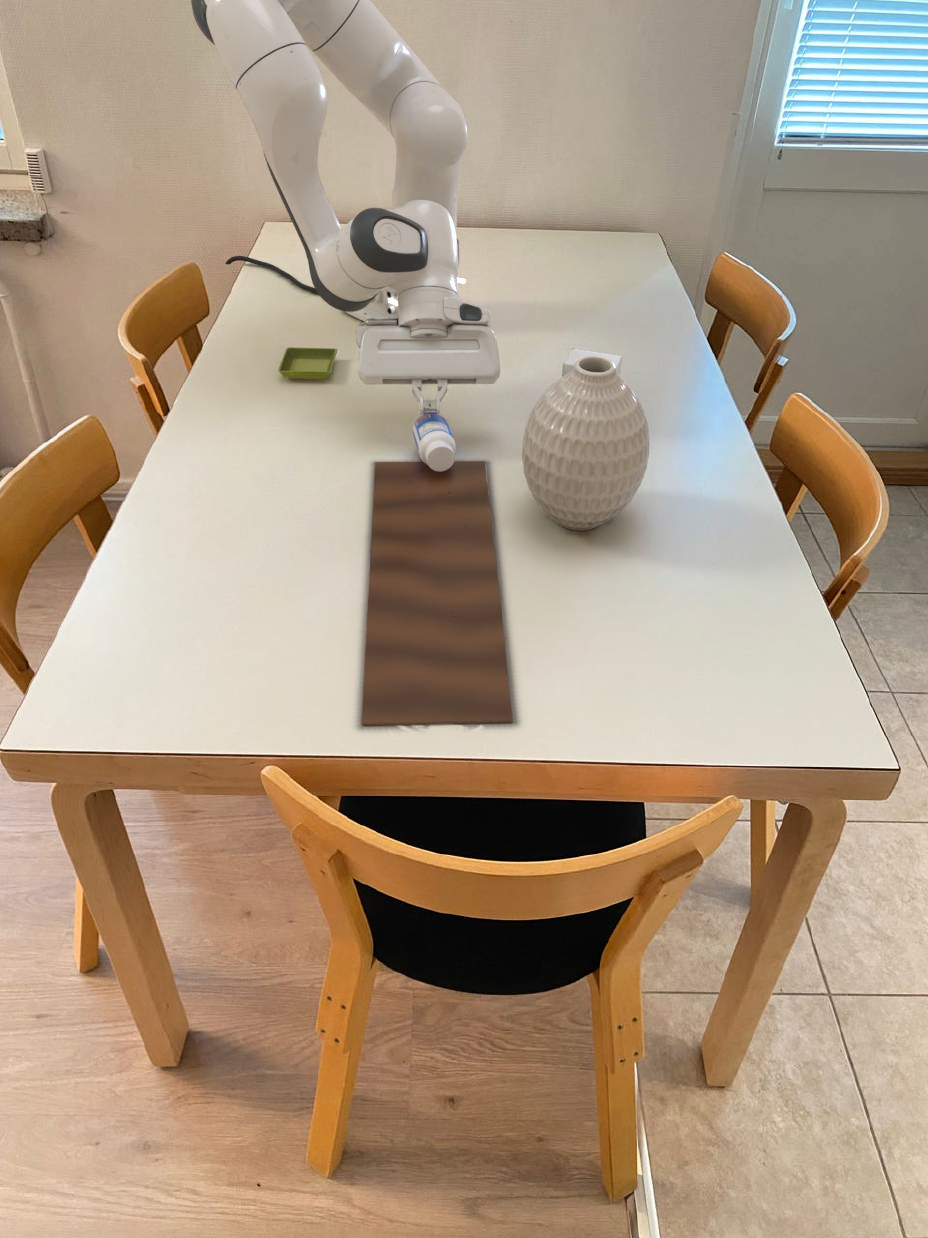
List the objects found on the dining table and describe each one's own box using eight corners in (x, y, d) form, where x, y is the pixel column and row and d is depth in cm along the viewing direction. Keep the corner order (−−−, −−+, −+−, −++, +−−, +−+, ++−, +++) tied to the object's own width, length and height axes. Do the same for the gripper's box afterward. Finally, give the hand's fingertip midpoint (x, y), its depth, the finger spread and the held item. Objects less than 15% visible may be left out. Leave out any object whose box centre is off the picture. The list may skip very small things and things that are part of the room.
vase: (605, 567, 123) (628, 410, 108) (496, 525, 129) (503, 373, 115) (656, 506, 133) (683, 356, 119) (553, 470, 140) (566, 324, 125)
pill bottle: (443, 447, 145) (453, 479, 138) (408, 441, 144) (417, 474, 136) (452, 414, 142) (463, 445, 134) (417, 408, 140) (426, 439, 133)
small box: (615, 418, 151) (623, 355, 144) (607, 435, 147) (615, 371, 140) (565, 409, 153) (571, 346, 146) (556, 425, 149) (562, 362, 142)
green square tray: (278, 382, 158) (277, 370, 157) (287, 358, 165) (286, 346, 163) (331, 384, 158) (330, 372, 157) (338, 359, 165) (337, 348, 163)
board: (375, 464, 140) (375, 461, 140) (485, 463, 141) (485, 460, 141) (361, 725, 102) (361, 722, 102) (512, 722, 103) (512, 720, 102)
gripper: (354, 310, 135) (355, 407, 134) (500, 309, 136) (502, 406, 135) (357, 326, 141) (358, 419, 140) (496, 326, 142) (498, 418, 141)
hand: (430, 413), depth 138 cm, fingers closed
